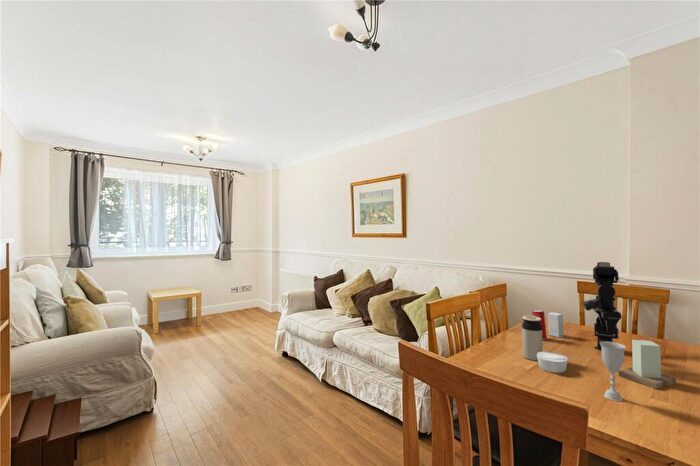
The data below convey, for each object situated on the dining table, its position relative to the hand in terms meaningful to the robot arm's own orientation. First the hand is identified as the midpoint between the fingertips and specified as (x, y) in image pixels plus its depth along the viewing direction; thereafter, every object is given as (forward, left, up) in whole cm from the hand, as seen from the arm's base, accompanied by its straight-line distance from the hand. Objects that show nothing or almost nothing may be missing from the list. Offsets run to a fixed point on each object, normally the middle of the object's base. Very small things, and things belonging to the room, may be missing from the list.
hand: (606, 329), depth 147 cm
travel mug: (+28, -14, -13) cm, 34 cm away
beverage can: (+2, -32, -13) cm, 35 cm away
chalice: (+34, +23, -13) cm, 43 cm away
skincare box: (-10, -32, -13) cm, 36 cm away
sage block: (+8, +19, -11) cm, 23 cm away
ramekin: (+31, -2, -13) cm, 34 cm away
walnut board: (+8, +19, -13) cm, 24 cm away
